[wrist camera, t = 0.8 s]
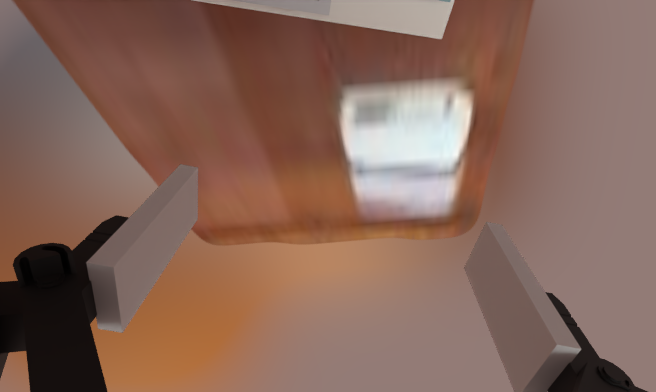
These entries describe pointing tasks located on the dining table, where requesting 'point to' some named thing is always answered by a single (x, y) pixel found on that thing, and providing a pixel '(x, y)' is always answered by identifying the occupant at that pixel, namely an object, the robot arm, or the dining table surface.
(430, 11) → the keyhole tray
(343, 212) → the dining table surface
